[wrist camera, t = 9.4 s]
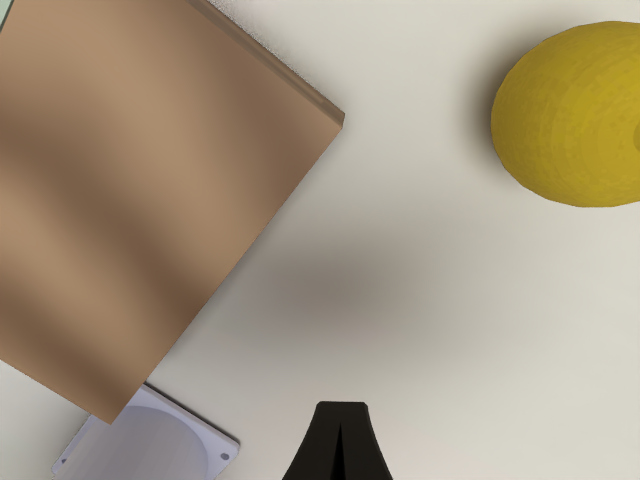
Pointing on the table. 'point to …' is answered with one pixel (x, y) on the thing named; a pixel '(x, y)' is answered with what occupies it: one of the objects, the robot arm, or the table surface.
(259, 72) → the cabinet
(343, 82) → the table surface
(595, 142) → the lemon
